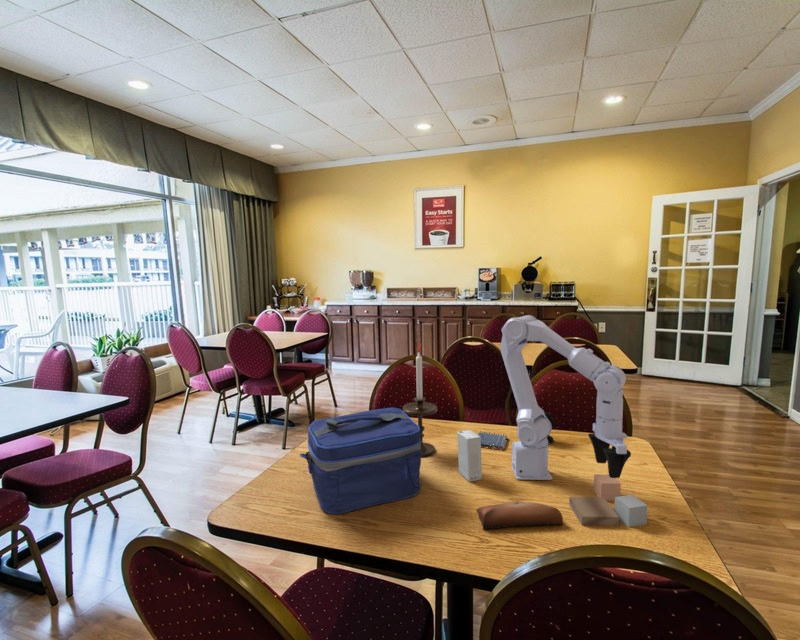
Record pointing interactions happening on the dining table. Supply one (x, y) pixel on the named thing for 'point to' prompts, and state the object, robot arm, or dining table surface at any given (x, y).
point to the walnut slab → (593, 511)
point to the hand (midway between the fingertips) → (607, 469)
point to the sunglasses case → (518, 515)
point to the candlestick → (421, 407)
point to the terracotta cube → (606, 487)
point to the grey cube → (631, 510)
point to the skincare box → (469, 455)
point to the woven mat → (492, 440)
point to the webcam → (551, 424)
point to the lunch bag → (364, 459)
